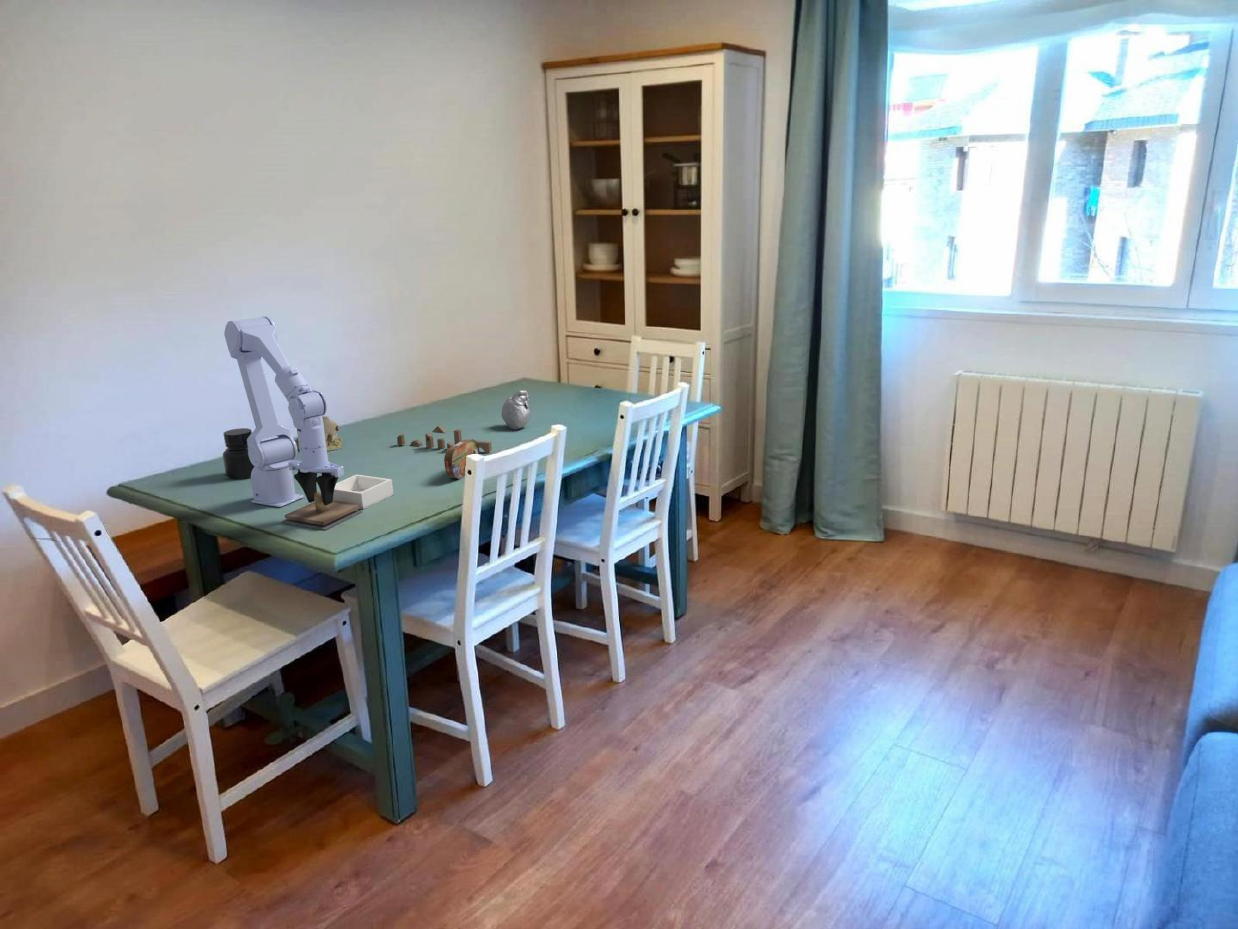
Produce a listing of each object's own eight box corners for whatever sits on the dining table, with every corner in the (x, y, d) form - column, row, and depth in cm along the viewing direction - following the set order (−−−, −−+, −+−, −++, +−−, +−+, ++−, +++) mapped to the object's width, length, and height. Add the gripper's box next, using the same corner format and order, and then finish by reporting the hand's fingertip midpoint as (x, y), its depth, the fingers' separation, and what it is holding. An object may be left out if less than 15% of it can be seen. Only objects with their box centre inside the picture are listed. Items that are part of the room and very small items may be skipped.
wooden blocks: (494, 452, 247) (492, 427, 245) (489, 455, 245) (488, 430, 242) (403, 443, 256) (400, 419, 254) (397, 446, 254) (395, 422, 251)
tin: (454, 483, 220) (451, 451, 218) (443, 482, 221) (440, 450, 219) (481, 465, 234) (479, 435, 231) (471, 464, 235) (469, 435, 232)
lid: (285, 520, 196) (282, 498, 195) (322, 504, 206) (319, 482, 205) (324, 528, 191) (321, 505, 190) (360, 510, 201) (357, 488, 200)
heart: (498, 423, 275) (496, 388, 269) (527, 419, 277) (526, 385, 272) (504, 436, 266) (502, 400, 261) (534, 433, 269) (533, 397, 263)
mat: (281, 522, 196) (281, 521, 196) (319, 505, 206) (319, 504, 206) (325, 530, 191) (325, 529, 191) (362, 512, 201) (362, 511, 201)
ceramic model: (349, 441, 260) (345, 409, 257) (337, 452, 250) (333, 418, 247) (303, 442, 261) (298, 410, 258) (289, 453, 250) (284, 419, 247)
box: (327, 503, 207) (325, 488, 206) (358, 489, 217) (356, 474, 216) (363, 509, 203) (361, 493, 202) (393, 494, 212) (391, 479, 211)
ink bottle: (270, 470, 234) (264, 428, 230) (249, 481, 225) (241, 437, 222) (240, 468, 236) (233, 426, 232) (217, 478, 228) (210, 435, 224)
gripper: (274, 447, 193) (283, 504, 197) (324, 453, 187) (332, 512, 191) (298, 439, 199) (306, 494, 203) (347, 445, 193) (354, 502, 197)
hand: (320, 502), depth 198 cm, fingers open, 4 cm apart
